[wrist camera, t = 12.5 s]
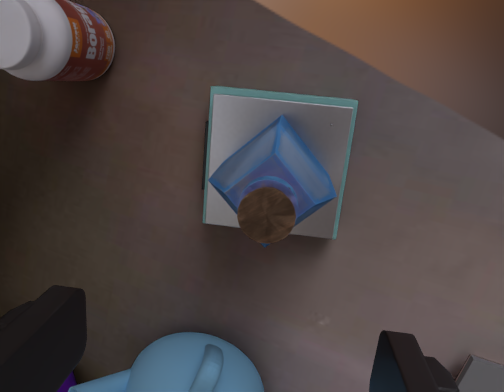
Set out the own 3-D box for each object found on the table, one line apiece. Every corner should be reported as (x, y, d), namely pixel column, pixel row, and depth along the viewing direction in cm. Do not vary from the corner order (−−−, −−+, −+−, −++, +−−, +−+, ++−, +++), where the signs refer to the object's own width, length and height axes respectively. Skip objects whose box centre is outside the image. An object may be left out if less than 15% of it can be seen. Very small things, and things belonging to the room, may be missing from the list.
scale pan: (214, 93, 33) (213, 93, 32) (352, 107, 32) (353, 107, 31) (206, 221, 36) (205, 223, 35) (331, 236, 35) (332, 239, 34)
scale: (212, 85, 36) (204, 86, 33) (354, 99, 35) (360, 101, 32) (204, 213, 39) (196, 225, 36) (333, 229, 38) (336, 242, 35)
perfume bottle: (269, 218, 35) (257, 288, 23) (222, 162, 34) (186, 205, 22) (329, 175, 33) (348, 226, 22) (282, 114, 32) (275, 135, 21)
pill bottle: (129, 63, 36) (60, 57, 25) (71, 92, 37) (-17, 97, 26) (95, -7, 34) (8, -45, 24) (37, 25, 36) (-72, 2, 25)
